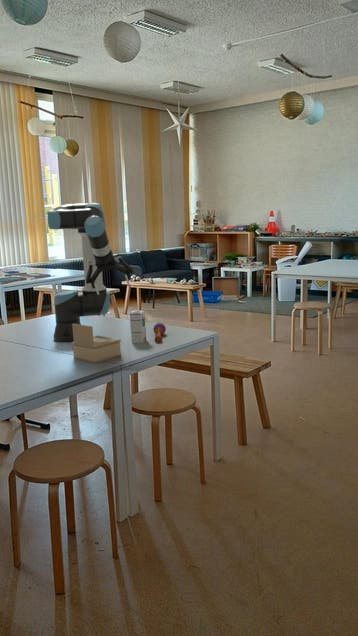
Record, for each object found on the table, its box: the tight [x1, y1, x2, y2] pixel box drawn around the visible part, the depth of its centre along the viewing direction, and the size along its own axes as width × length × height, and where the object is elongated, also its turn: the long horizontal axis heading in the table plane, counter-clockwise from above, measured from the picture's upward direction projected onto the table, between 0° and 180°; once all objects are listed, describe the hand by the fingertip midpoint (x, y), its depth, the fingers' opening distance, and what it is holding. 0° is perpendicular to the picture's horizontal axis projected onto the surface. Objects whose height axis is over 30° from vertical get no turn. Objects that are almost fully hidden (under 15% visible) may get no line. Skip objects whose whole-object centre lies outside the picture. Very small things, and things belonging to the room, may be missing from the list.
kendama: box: [153, 322, 167, 343], centre depth 273 cm, size 6×6×20 cm
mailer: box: [72, 341, 122, 364], centre depth 241 cm, size 14×14×6 cm
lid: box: [71, 324, 122, 349], centre depth 240 cm, size 15×15×9 cm
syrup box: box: [128, 309, 147, 344], centre depth 266 cm, size 6×6×14 cm
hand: (113, 288), depth 247 cm, fingers open, 13 cm apart
